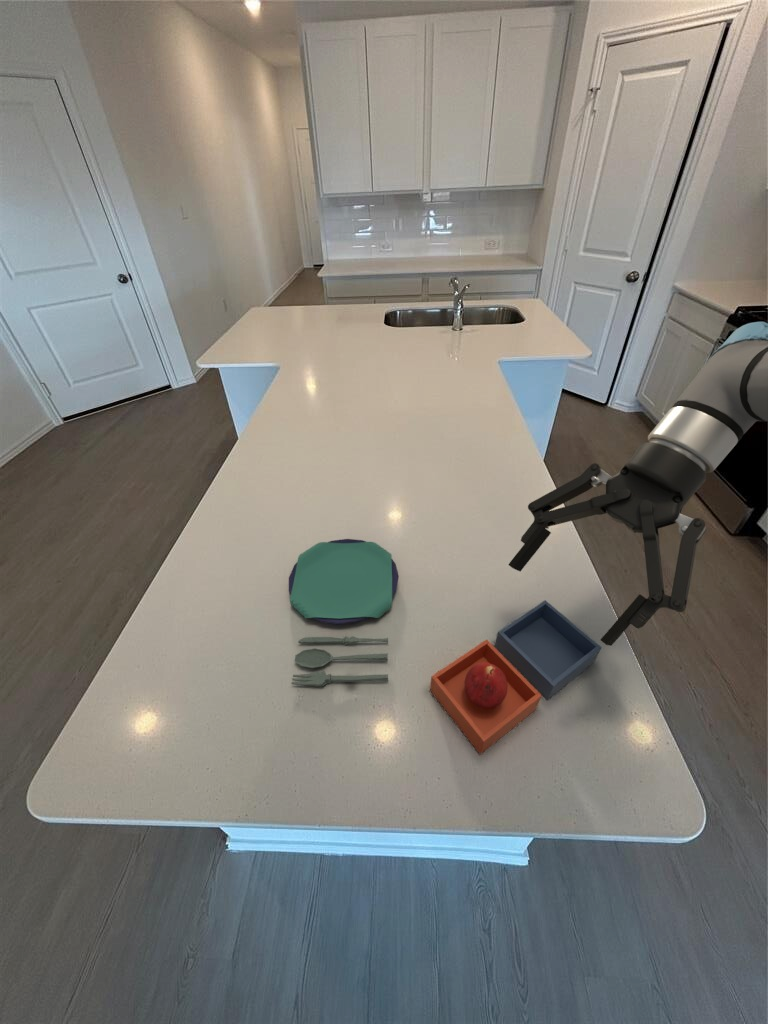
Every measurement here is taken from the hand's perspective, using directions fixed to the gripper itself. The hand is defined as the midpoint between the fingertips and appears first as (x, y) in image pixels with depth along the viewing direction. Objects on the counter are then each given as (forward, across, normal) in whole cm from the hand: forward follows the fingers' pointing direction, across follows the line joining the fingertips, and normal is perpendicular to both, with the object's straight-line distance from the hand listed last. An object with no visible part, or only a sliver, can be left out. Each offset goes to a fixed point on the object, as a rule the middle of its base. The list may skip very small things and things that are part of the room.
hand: (556, 602), depth 53 cm
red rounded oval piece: (+18, +2, -8) cm, 20 cm away
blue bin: (+9, +2, -17) cm, 20 cm away
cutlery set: (+24, +28, -2) cm, 37 cm away
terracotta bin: (+18, +2, -8) cm, 20 cm away
